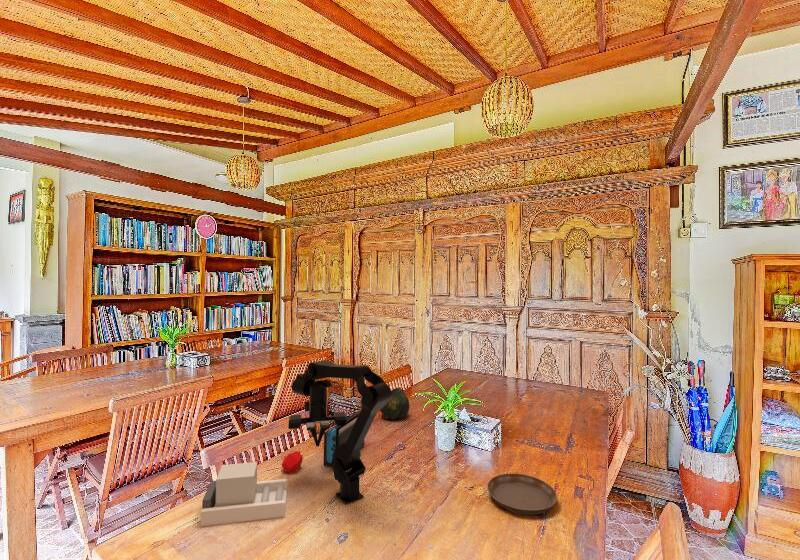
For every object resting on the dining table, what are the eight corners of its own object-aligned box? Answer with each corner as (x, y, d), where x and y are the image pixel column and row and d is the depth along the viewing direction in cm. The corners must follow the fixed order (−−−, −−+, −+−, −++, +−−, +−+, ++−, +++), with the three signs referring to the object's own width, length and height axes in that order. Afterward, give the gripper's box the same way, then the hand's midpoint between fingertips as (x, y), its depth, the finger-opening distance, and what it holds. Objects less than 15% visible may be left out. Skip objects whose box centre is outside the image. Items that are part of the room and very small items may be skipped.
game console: (333, 474, 140) (333, 432, 140) (317, 470, 143) (318, 429, 143) (368, 443, 167) (369, 408, 166) (354, 441, 169) (355, 406, 169)
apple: (286, 462, 137) (303, 446, 143) (274, 460, 141) (291, 444, 148) (294, 478, 139) (310, 462, 145) (282, 476, 143) (298, 460, 149)
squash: (369, 408, 195) (390, 386, 192) (380, 400, 209) (400, 380, 206) (389, 431, 191) (411, 409, 188) (399, 421, 205) (419, 401, 202)
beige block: (256, 488, 124) (257, 461, 124) (253, 504, 115) (254, 476, 115) (221, 491, 122) (222, 465, 122) (215, 508, 113) (216, 479, 113)
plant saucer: (552, 528, 112) (552, 516, 112) (479, 507, 122) (479, 496, 122) (560, 493, 131) (560, 482, 131) (496, 477, 140) (496, 468, 140)
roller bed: (286, 491, 129) (287, 478, 129) (284, 516, 115) (285, 502, 115) (211, 498, 124) (212, 485, 124) (200, 526, 110) (200, 511, 110)
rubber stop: (218, 496, 123) (218, 480, 122) (209, 517, 112) (210, 499, 112) (210, 497, 122) (211, 481, 122) (202, 518, 112) (202, 500, 112)
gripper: (344, 390, 145) (343, 434, 145) (289, 393, 140) (289, 438, 140) (347, 400, 134) (346, 447, 134) (288, 403, 129) (288, 452, 130)
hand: (317, 445), depth 135 cm, fingers closed
